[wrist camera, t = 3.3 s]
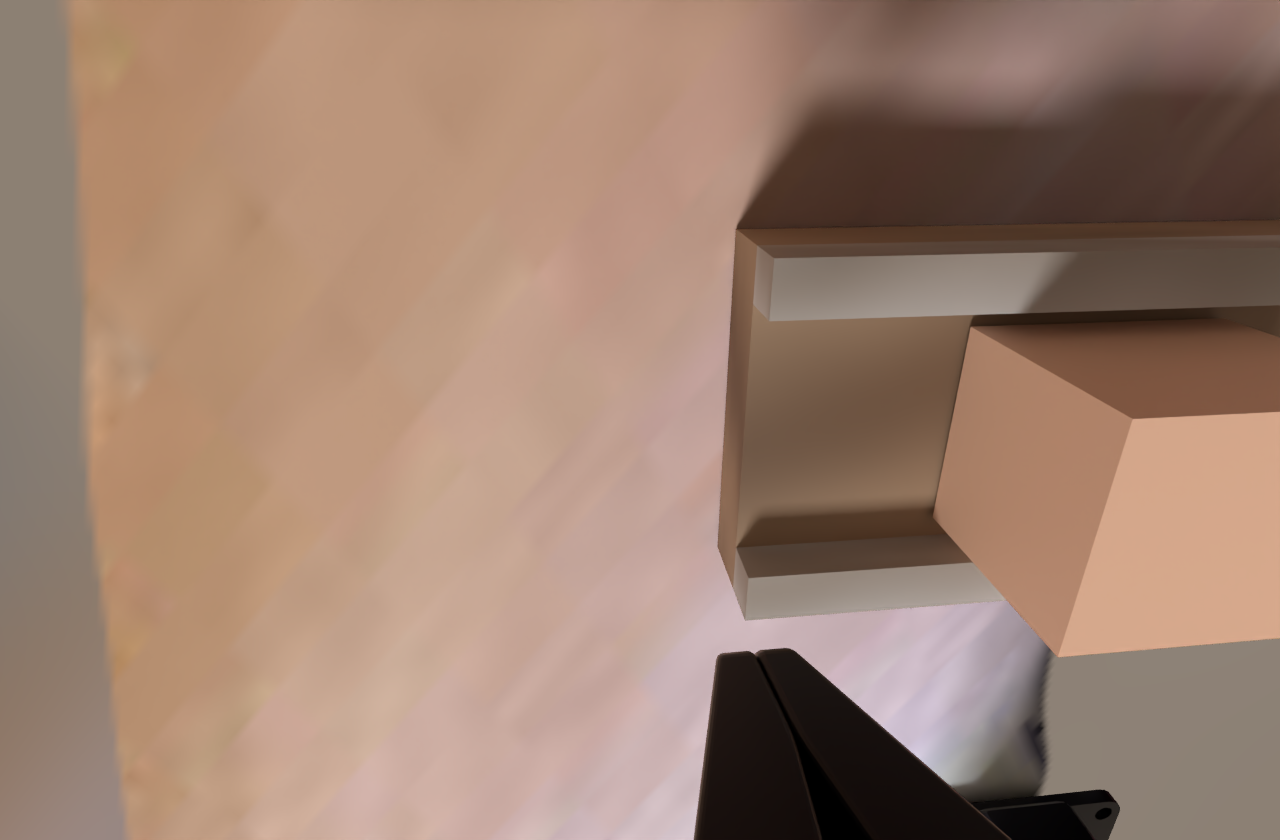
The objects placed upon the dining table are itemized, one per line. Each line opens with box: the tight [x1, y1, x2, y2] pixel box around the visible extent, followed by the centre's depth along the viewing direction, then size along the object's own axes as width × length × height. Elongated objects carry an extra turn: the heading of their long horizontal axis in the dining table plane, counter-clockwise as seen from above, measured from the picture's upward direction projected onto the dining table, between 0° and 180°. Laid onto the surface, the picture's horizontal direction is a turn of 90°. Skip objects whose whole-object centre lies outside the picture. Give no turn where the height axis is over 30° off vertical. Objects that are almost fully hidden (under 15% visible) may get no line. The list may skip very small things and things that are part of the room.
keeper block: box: [933, 318, 1280, 657], centre depth 12 cm, size 4×5×4 cm
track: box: [718, 220, 1280, 620], centre depth 14 cm, size 7×17×4 cm, turn 90°
